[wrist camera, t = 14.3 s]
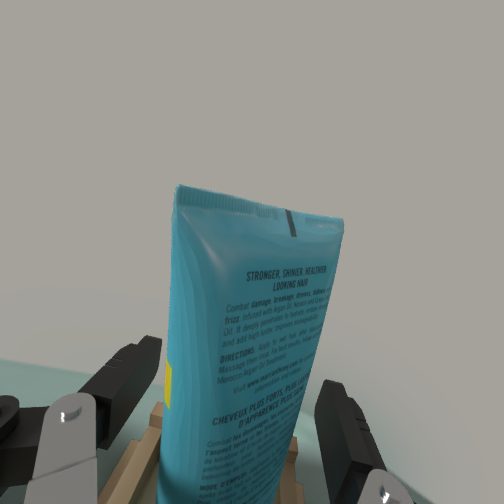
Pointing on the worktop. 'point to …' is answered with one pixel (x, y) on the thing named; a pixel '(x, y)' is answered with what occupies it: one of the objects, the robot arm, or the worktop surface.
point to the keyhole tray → (147, 465)
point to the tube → (239, 342)
